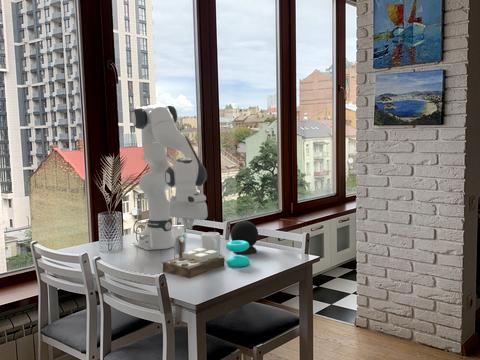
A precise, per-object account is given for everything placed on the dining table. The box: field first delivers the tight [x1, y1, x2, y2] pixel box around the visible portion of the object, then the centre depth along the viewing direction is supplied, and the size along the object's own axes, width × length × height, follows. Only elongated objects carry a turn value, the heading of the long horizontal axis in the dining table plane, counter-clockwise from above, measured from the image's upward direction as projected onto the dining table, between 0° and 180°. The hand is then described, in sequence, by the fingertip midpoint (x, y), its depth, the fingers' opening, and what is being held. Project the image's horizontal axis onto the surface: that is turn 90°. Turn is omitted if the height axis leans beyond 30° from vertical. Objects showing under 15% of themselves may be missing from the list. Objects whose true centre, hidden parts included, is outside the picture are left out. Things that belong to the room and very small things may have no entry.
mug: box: [201, 231, 221, 256], centre depth 233 cm, size 12×8×10 cm
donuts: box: [225, 240, 250, 268], centre depth 218 cm, size 10×10×10 cm
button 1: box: [182, 250, 197, 260], centre depth 217 cm, size 4×4×4 cm
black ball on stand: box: [230, 220, 259, 256], centre depth 240 cm, size 13×13×15 cm
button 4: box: [204, 250, 218, 259], centre depth 217 cm, size 4×4×4 cm
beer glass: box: [172, 224, 188, 259], centre depth 231 cm, size 7×7×15 cm
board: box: [161, 255, 226, 279], centre depth 214 cm, size 16×21×4 cm
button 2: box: [194, 253, 209, 263], centre depth 212 cm, size 4×4×4 cm
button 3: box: [191, 247, 206, 254], centre depth 221 cm, size 4×4×4 cm
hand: (188, 228), depth 215 cm, fingers closed
